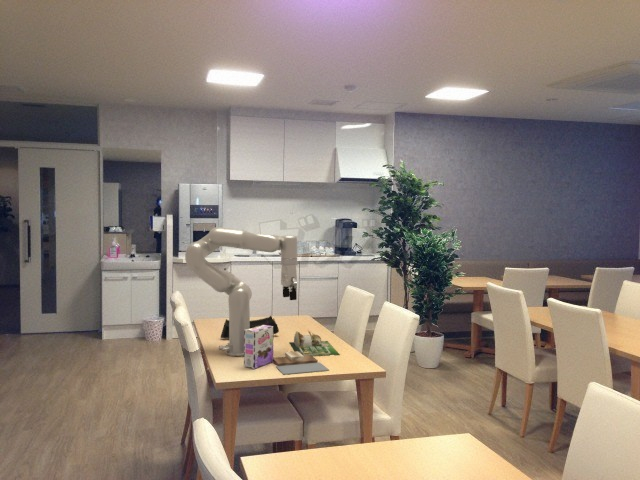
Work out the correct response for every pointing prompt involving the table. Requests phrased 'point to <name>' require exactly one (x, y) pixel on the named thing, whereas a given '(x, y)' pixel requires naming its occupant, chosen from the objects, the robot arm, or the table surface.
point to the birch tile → (294, 356)
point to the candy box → (258, 346)
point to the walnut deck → (284, 361)
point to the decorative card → (312, 345)
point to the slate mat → (301, 368)
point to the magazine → (252, 325)
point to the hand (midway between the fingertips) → (289, 298)
